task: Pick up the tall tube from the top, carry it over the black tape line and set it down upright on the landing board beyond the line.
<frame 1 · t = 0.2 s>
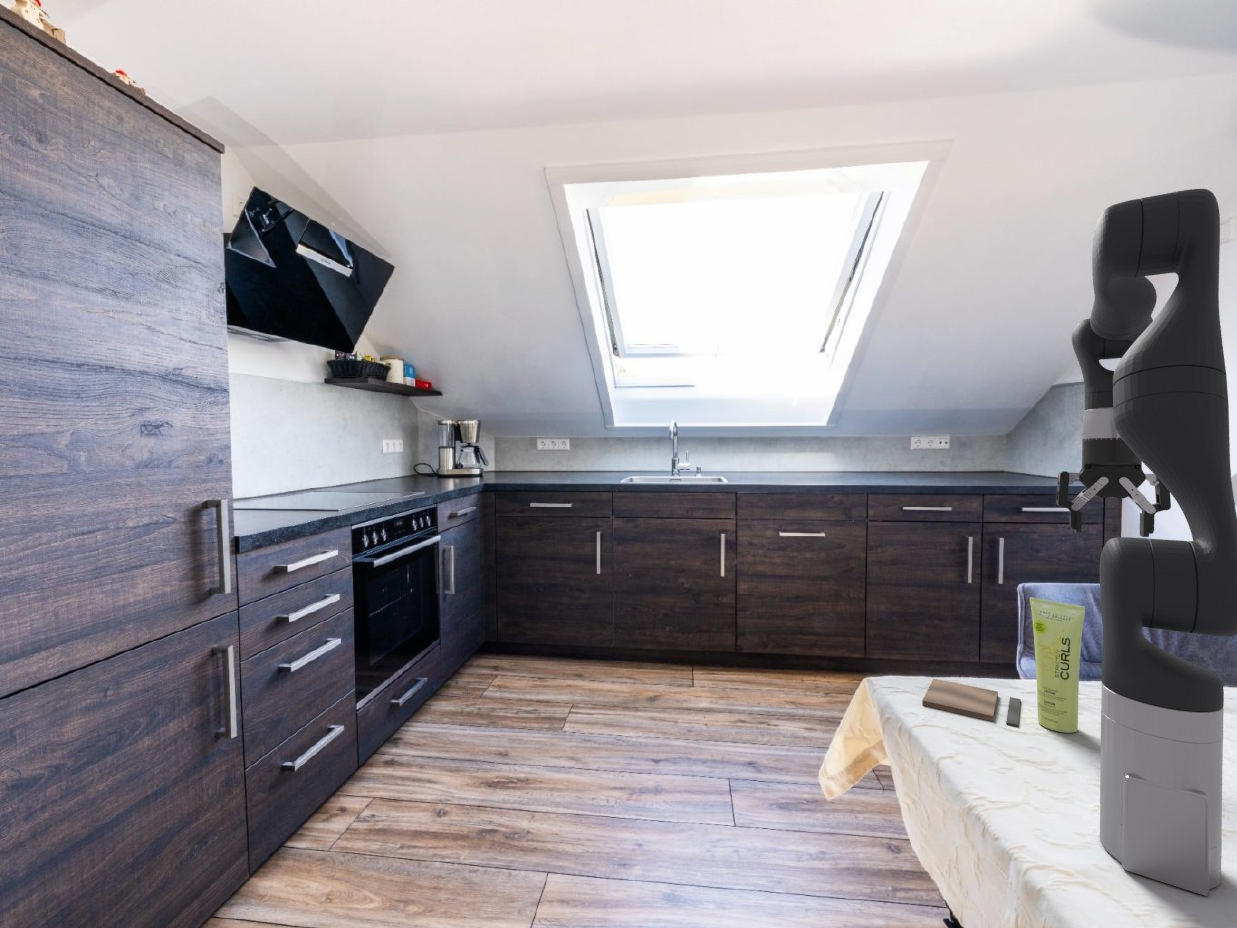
hand: (1110, 534, 95), 29 cm above the table, tool pointing down, fingers open, 8 cm apart
tube: (1055, 727, 90), on the table
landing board: (960, 700, 99), on the table
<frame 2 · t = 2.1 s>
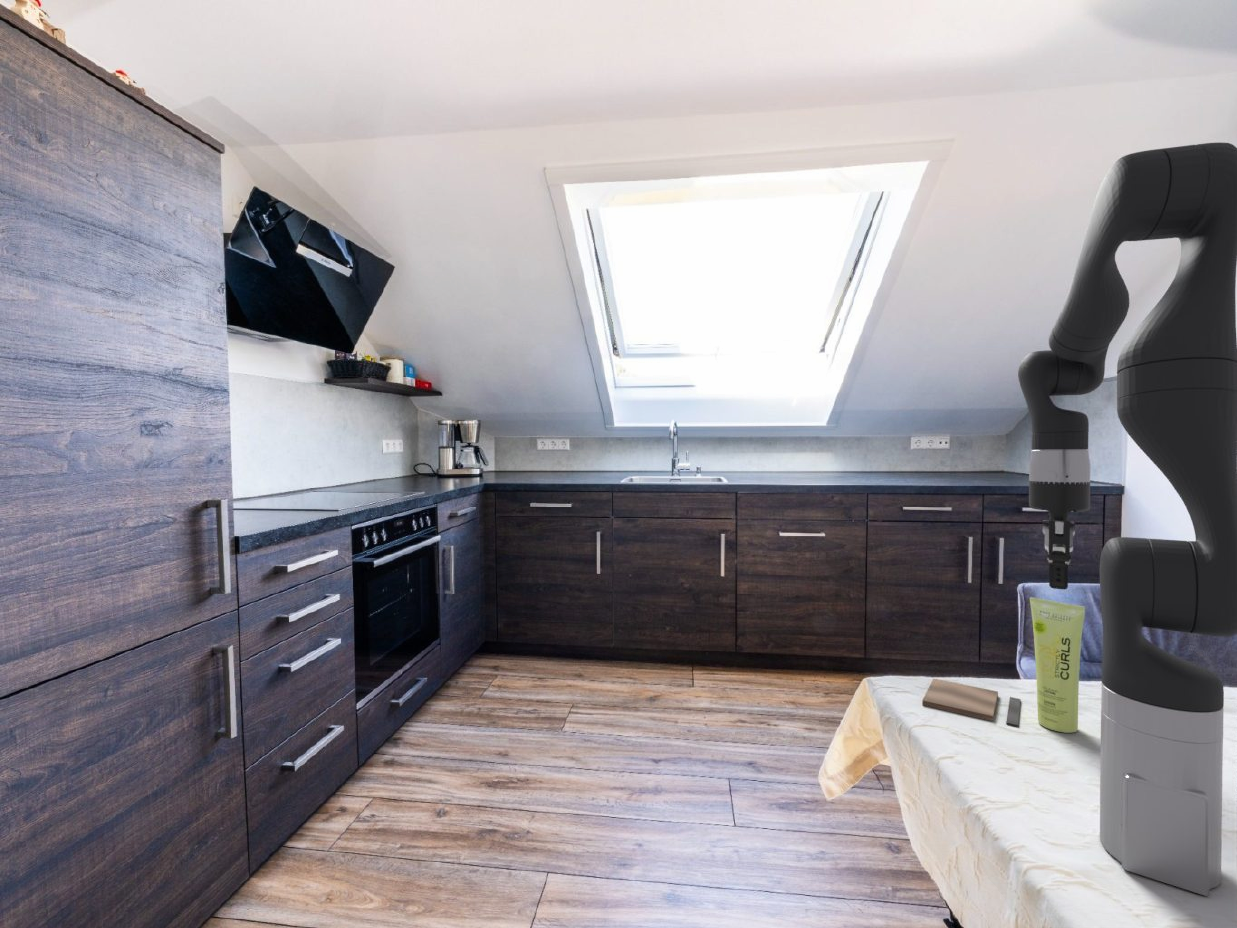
hand: (1057, 583, 89), 22 cm above the table, tool pointing down, fingers open, 8 cm apart
nothing on the table moved.
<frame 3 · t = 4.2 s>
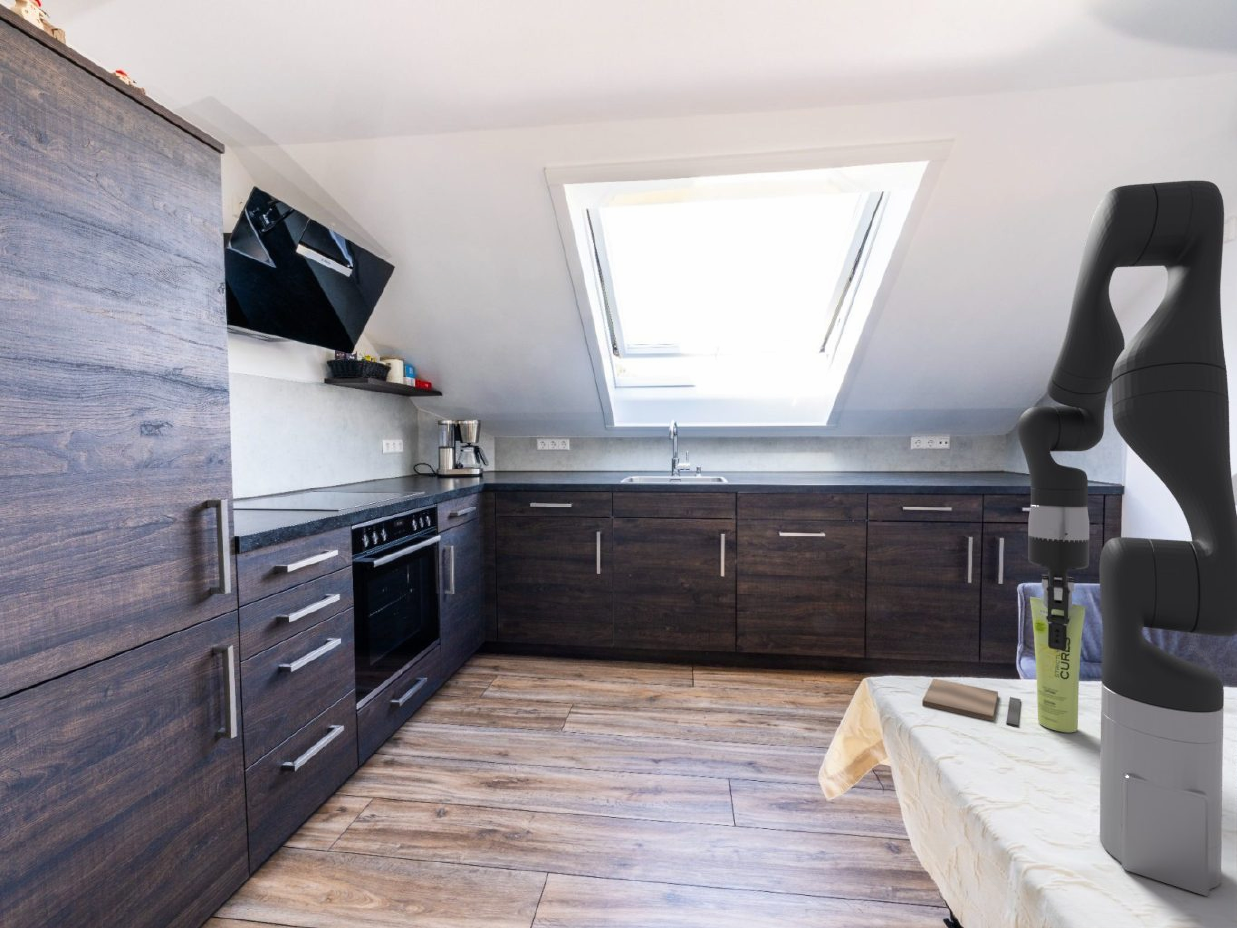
hand: (1056, 644, 89), 13 cm above the table, tool pointing down, fingers closed on tube, 4 cm apart
tube: (1055, 727, 90), on the table, touching gripper
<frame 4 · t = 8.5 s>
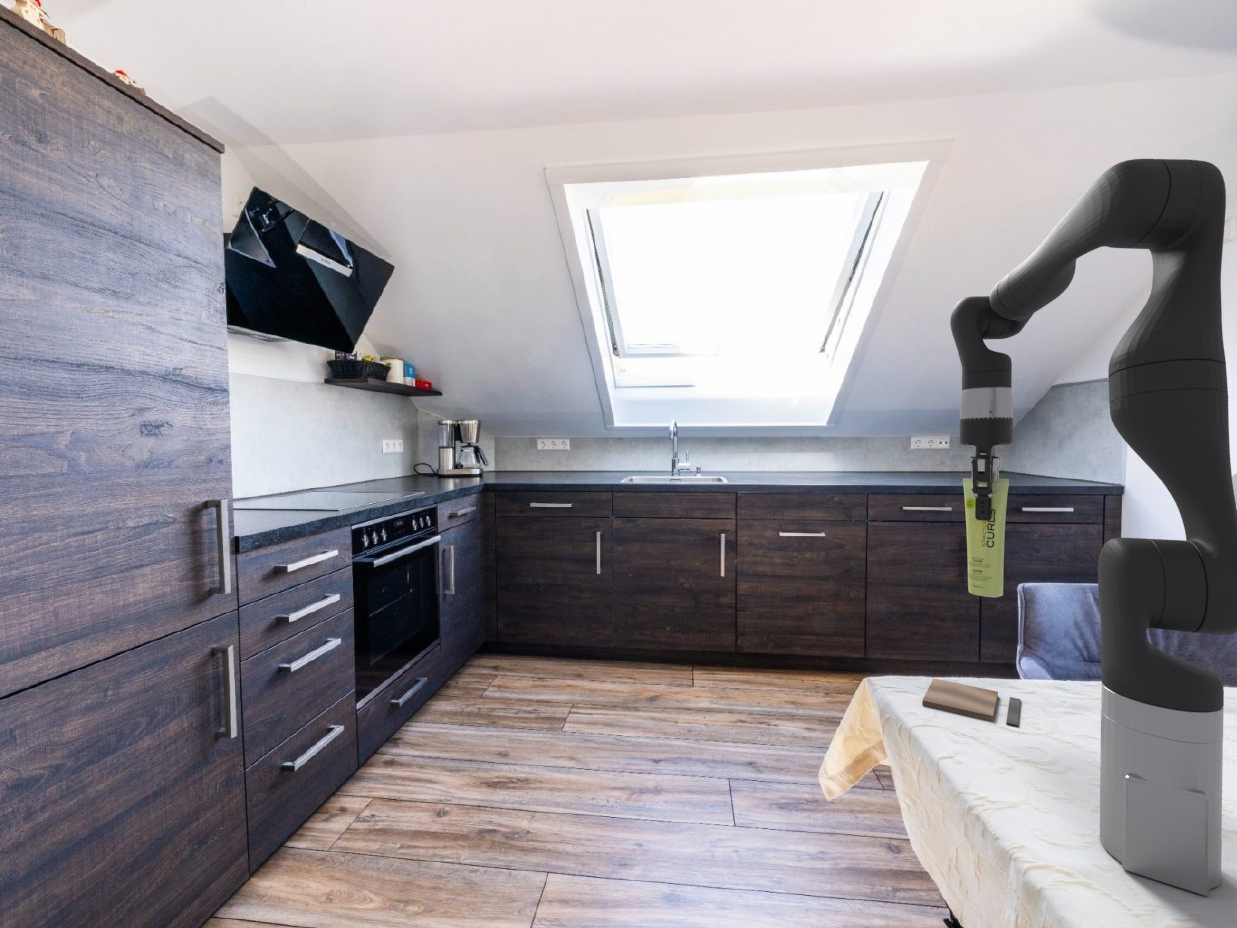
hand: (984, 518, 97), 32 cm above the table, tool pointing down, fingers closed on tube, 4 cm apart
tube: (984, 595, 97), point 19 cm above the table, touching gripper
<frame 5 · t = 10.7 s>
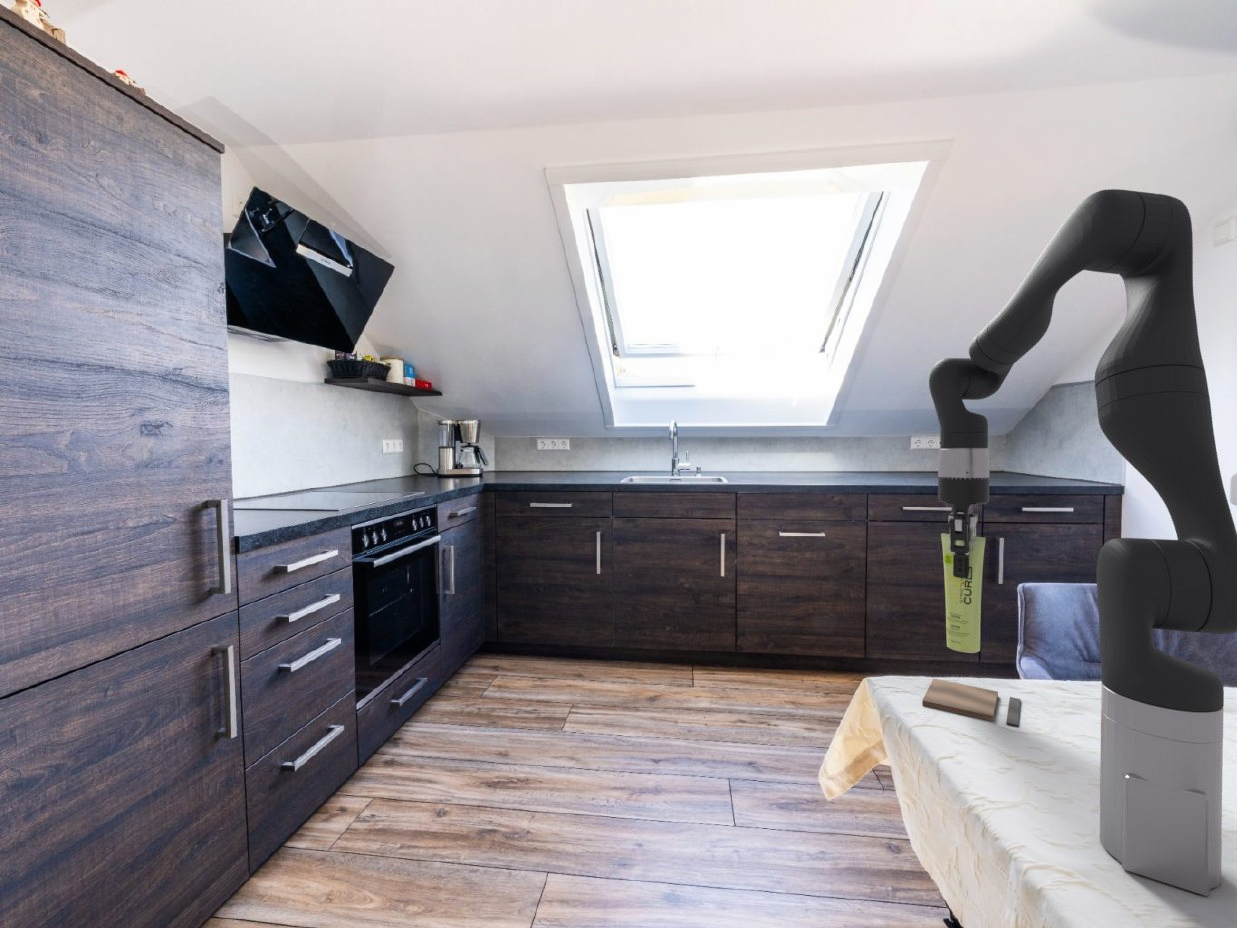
hand: (962, 574, 99), 22 cm above the table, tool pointing down, fingers closed on tube, 4 cm apart
tube: (961, 649, 99), point 9 cm above the table, touching gripper
when the fingers open (15 cm above the table, at t = 12.7 s): tube drops 2 cm, resting on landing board.
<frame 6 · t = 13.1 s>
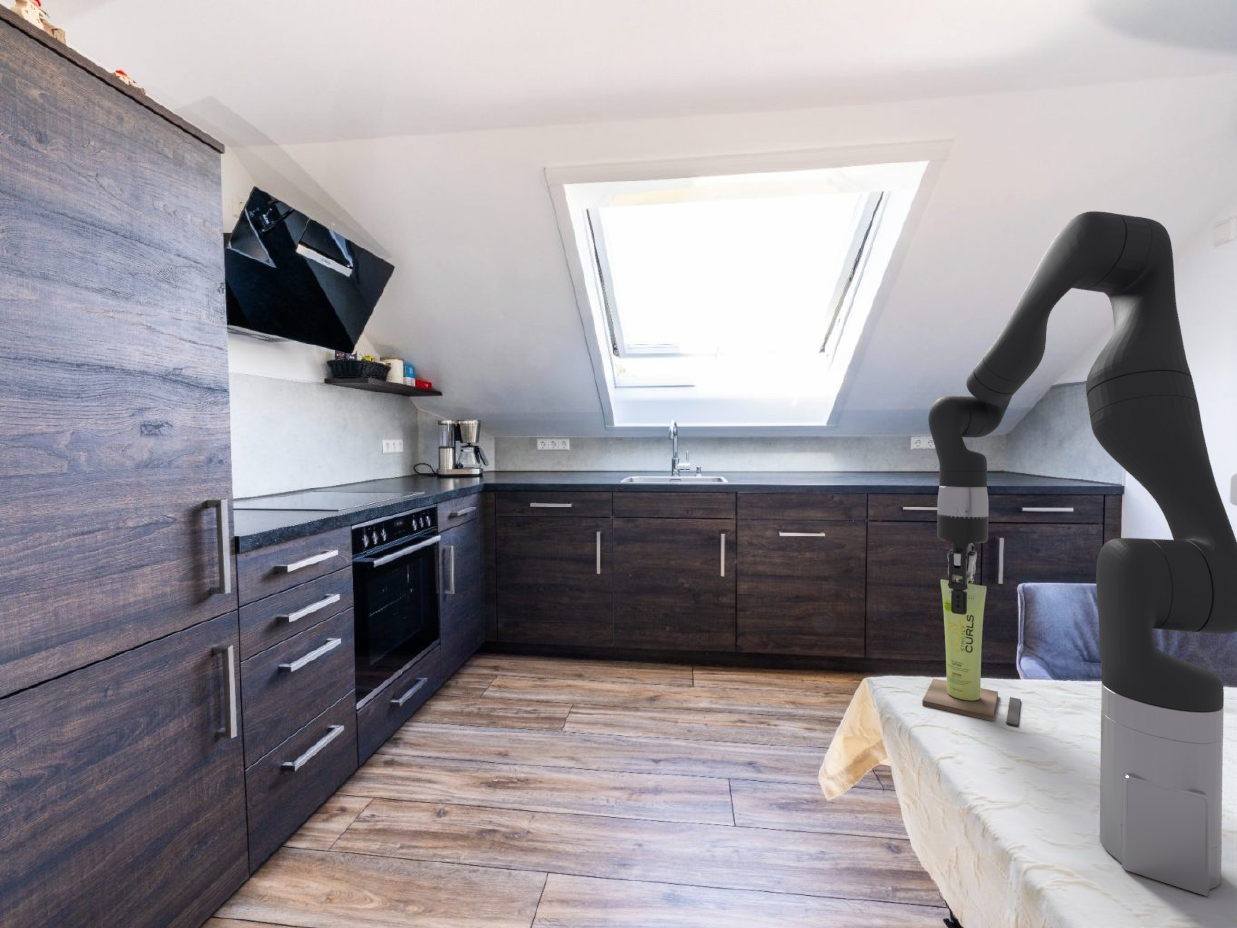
hand: (961, 608, 99), 16 cm above the table, tool pointing down, fingers open, 7 cm apart
tube: (962, 696, 99), point 1 cm above the table, touching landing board
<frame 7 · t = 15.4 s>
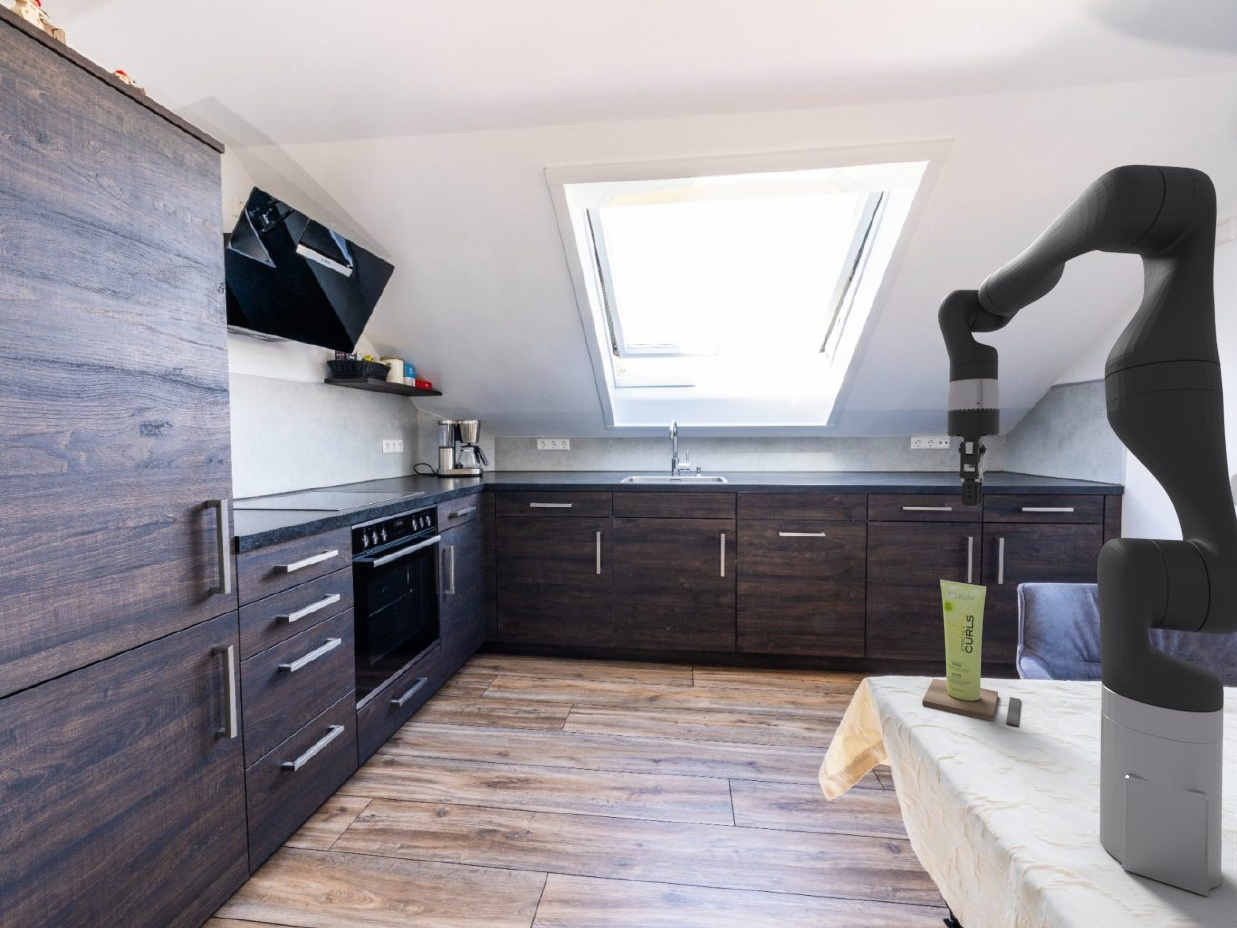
hand: (972, 504, 97), 34 cm above the table, tool pointing down, fingers open, 8 cm apart
nothing on the table moved.
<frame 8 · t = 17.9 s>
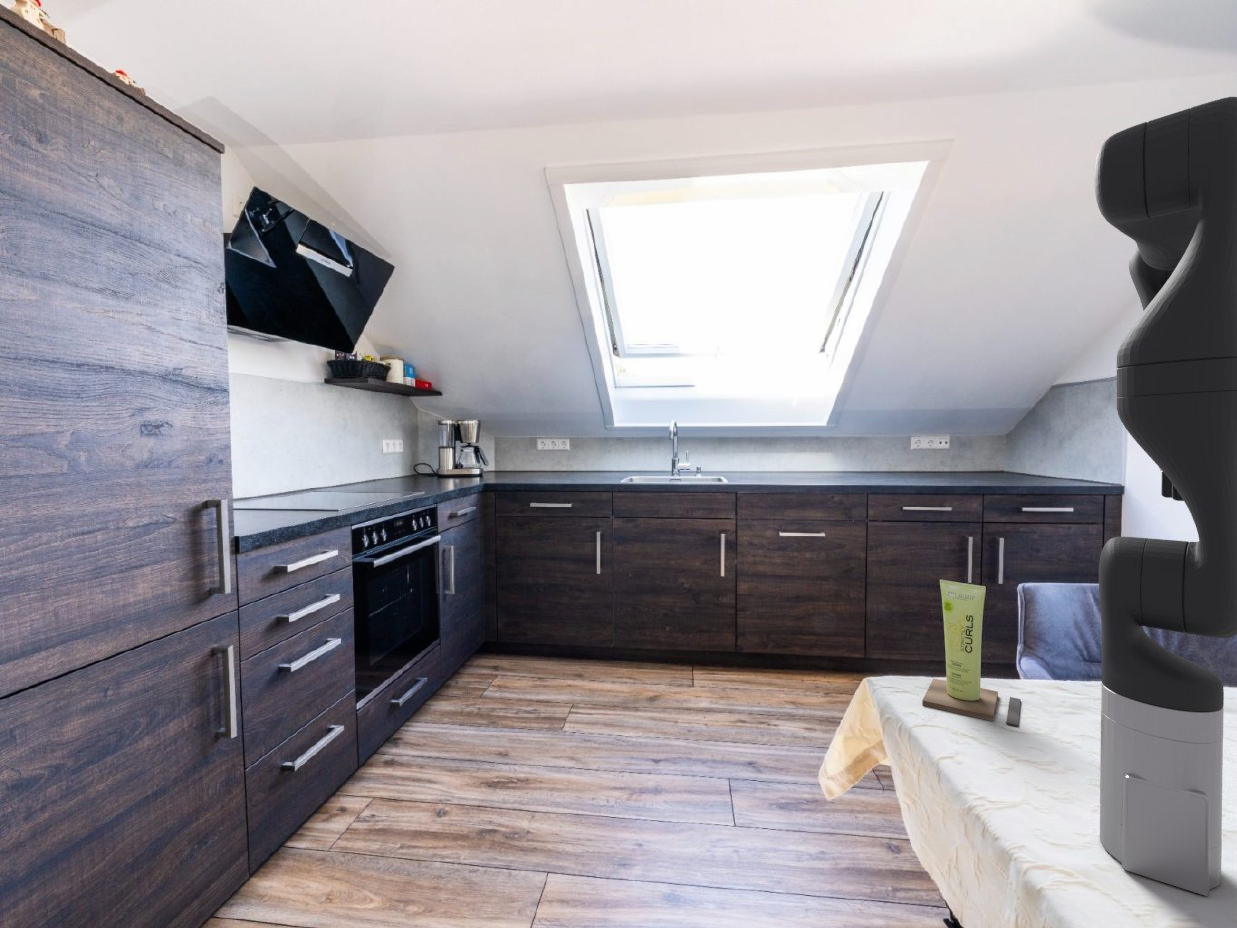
hand: (1177, 499, 79), 36 cm above the table, tool pointing down, fingers open, 8 cm apart
nothing on the table moved.
at the end: tube inside the target area on the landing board (0.5 cm from its centre), point 0.6 cm above the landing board's base; tube tilted 0°; the gripper is holding nothing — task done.
